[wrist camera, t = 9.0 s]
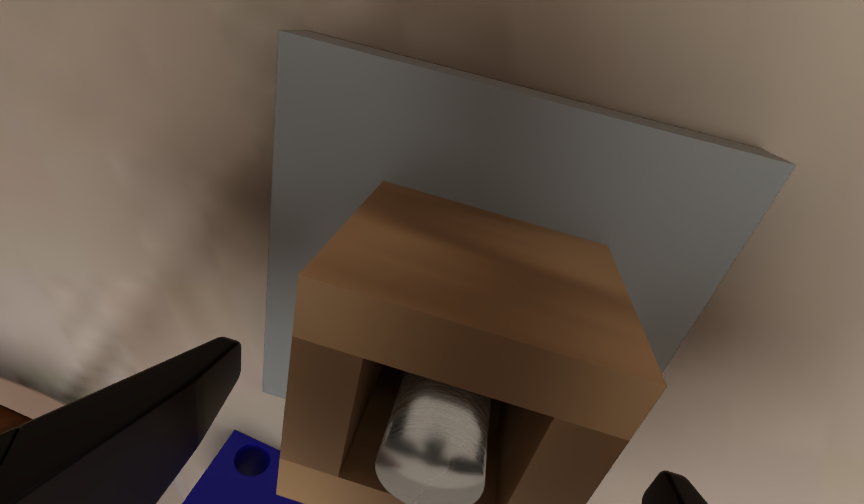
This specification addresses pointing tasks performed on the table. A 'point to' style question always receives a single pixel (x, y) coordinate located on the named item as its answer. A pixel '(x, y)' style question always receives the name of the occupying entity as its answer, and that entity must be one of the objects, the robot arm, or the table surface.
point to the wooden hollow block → (462, 349)
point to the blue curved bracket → (240, 475)
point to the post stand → (494, 210)
